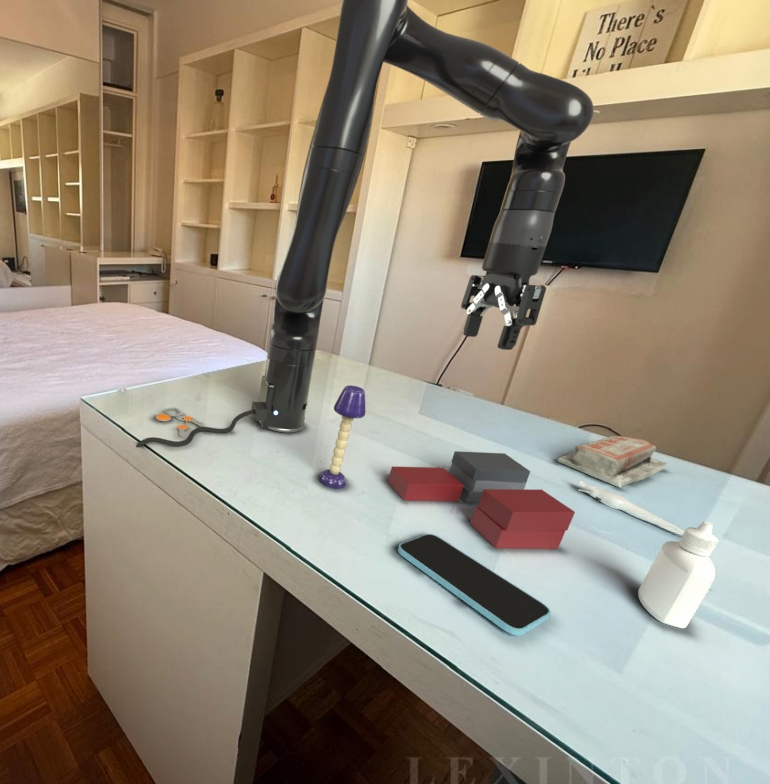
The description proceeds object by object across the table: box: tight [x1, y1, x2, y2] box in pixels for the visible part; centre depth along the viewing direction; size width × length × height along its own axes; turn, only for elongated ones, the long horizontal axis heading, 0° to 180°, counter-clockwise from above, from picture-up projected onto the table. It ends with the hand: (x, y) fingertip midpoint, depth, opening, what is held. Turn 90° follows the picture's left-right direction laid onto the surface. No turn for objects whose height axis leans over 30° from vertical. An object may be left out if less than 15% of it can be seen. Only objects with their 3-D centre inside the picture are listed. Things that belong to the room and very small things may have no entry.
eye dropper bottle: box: [637, 520, 720, 629], centre depth 50 cm, size 4×6×12 cm
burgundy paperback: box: [387, 465, 464, 502], centre depth 73 cm, size 9×5×3 cm, turn 93°
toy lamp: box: [318, 384, 366, 490], centre depth 72 cm, size 5×5×17 cm
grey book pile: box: [448, 450, 531, 504], centre depth 73 cm, size 9×6×6 cm
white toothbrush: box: [577, 480, 685, 536], centre depth 71 cm, size 15×3×2 cm, turn 22°
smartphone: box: [397, 533, 552, 636], centre depth 54 cm, size 7×1×15 cm
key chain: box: [155, 407, 203, 437], centre depth 93 cm, size 13×7×1 cm, turn 30°
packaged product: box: [557, 435, 668, 488], centre depth 85 cm, size 18×5×10 cm
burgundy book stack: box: [469, 489, 576, 550], centre depth 63 cm, size 9×6×6 cm, turn 93°
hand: (486, 342), depth 77 cm, fingers open, 8 cm apart
